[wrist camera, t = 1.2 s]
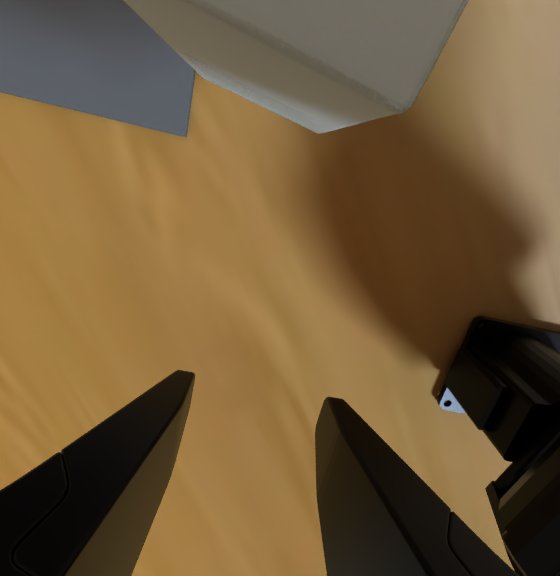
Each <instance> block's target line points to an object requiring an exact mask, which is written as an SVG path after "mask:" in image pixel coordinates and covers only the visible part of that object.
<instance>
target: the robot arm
mask: <svg viewBox="0 0 560 576" xmlns="http://www.w3.org/2000/svg"><path fill="white" fill-rule="evenodd" d="M482 323H484V325H483V326H482V327H480V328H479V326H480V325H481V324H482ZM194 381H195V374H194V373H193V372H188V371H182V370H177V371H175V372H174V373H172V374H171V375H169V376H168V377H166V378H165V379H164V380H162V381H161V382H159V383H158V384H156V385H155V386H153V387H152V388H150V389H149V390H148V391H146V392H145V393H143V394H142V395H140V396H139V397H137V398H136V399H135V400H133V401H132V402H130V403H129V404H127V405H126V406H124V407H123V408H122V409H120V410H119V411H117V412H116V413H114V414H113V415H111V416H110V417H109V418H107V419H106V420H104V421H103V422H101V423H100V424H98V425H97V426H96V427H94V428H93V429H91V430H90V431H88V432H87V433H85V434H84V435H83V436H81V437H80V438H78V439H77V440H75V441H74V442H72V443H71V444H70V445H68V446H67V447H65V448H64V449H62V450H61V453H60V452H58V453H56V454H55V455H53V456H52V457H50V458H49V459H48V460H46V461H45V462H43V463H42V464H40V465H39V466H37V467H36V468H34V469H33V470H31V471H30V472H28V473H27V474H25V475H24V476H22V477H20V478H19V479H17V480H16V481H14V482H13V483H11V484H10V485H8V486H6V487H5V488H3V489H1V490H0V576H131V575H132V572H133V570H134V567H135V565H136V562H137V560H138V558H139V555H140V553H141V550H142V548H143V545H144V543H145V540H146V538H147V535H148V533H149V530H150V528H151V525H152V523H153V520H154V518H155V515H156V513H157V510H158V508H159V505H160V503H161V500H162V498H163V495H164V493H165V490H166V488H167V485H168V483H169V480H170V477H171V474H172V471H173V468H174V464H175V461H176V457H177V453H178V450H179V446H180V442H181V438H182V435H183V431H184V427H185V424H186V420H187V416H188V412H189V408H190V403H191V398H192V392H193V387H194ZM447 400H448V402H446V403H444V402H445V401H447ZM437 402H438V404H439V406H440V407H441V408H442V409H444V410H448V411H454V412H459V413H464V414H467V415H468V416H469V418H470V419H471V420H472V422H473V423H474V424H475V426H476V427H477V428H478V429H479V430H482V431H483V432H484V433H485V435H486V436H487V437H488V439H489V440H490V441H491V443H492V444H493V445H494V447H495V448H496V449H497V451H498V452H499V453H500V454H501V456H502V457H503V458H504V460H506V461H510V462H512V463H511V464H510V466H509V467H508V468H507V469H506V470H505V471H504V472H503V473H502V474H501V475H500V476H499V477H498V479H497V480H496V481H492V482H491V483H490V484H489V485H488V486H487V487H486V488H485V489H486V492H487V495H488V498H489V501H490V504H491V507H492V510H493V513H494V516H495V519H496V522H497V525H498V528H499V531H500V534H501V537H502V540H503V543H504V545H505V548H506V551H507V554H508V557H509V559H510V562H511V564H512V566H513V568H514V570H515V571H514V570H513V569H511V568H510V567H509V566H508V565H507V564H506V563H505V562H504V561H503V560H502V559H501V558H500V557H499V556H498V555H496V554H495V553H494V552H493V551H492V550H491V549H490V548H489V547H488V546H487V545H486V544H485V543H484V542H483V541H482V540H481V539H480V538H479V537H478V536H477V535H476V534H475V533H474V532H473V531H472V530H471V529H470V528H469V527H468V526H467V525H466V524H465V523H464V522H463V521H462V520H461V519H460V518H459V517H458V516H457V515H456V514H455V513H454V512H451V510H450V508H449V507H448V506H447V505H446V504H445V503H444V502H443V501H442V500H441V499H440V498H439V497H438V496H437V494H436V493H435V492H434V491H433V490H432V489H431V488H430V487H429V486H428V485H427V484H426V483H425V482H424V481H423V480H422V479H421V478H420V477H419V476H418V475H417V474H416V473H415V472H414V471H413V470H412V469H411V468H410V467H409V466H408V465H407V464H406V463H405V462H404V461H403V460H402V459H401V458H400V457H399V456H398V455H397V454H396V453H395V452H394V451H393V450H392V449H391V448H390V446H389V445H388V444H387V443H386V442H385V441H384V440H383V439H382V438H381V437H380V436H379V435H378V434H377V433H376V432H375V431H374V430H373V429H372V428H371V427H370V426H369V425H368V424H367V423H366V422H365V421H364V420H363V419H362V418H361V417H360V416H359V415H358V414H357V413H356V412H355V411H354V410H353V409H352V408H351V407H350V406H349V405H348V404H347V403H346V402H345V401H344V400H343V399H339V398H333V397H327V398H326V399H325V400H324V403H323V406H322V409H321V412H320V415H319V418H318V421H317V424H316V430H315V449H316V490H317V503H318V512H319V519H320V526H321V534H322V541H323V549H324V556H325V564H326V571H327V576H560V332H555V331H550V330H545V329H541V328H536V327H531V326H527V325H522V324H517V323H512V322H508V321H503V320H498V319H494V318H489V317H484V316H479V317H477V318H475V319H474V320H473V322H472V323H471V326H470V328H469V330H468V332H467V334H466V337H465V339H464V341H463V343H462V345H461V348H460V349H459V350H458V352H457V355H456V357H455V359H454V361H453V363H452V366H451V368H450V370H449V372H448V374H447V377H446V379H445V381H444V385H443V387H442V390H441V392H440V394H439V396H438V399H437Z"/></svg>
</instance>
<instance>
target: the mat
mask: <svg viewBox="0 0 560 576" xmlns="http://www.w3.org/2000/svg"><path fill="white" fill-rule="evenodd" d="M194 78H195V70H194V69H193V68H192V67H191V66H190V65H189V64H188V63H187V62H186V61H185V60H184V59H183V58H182V57H181V56H180V55H179V54H178V53H177V52H176V51H175V50H174V49H173V48H171V47H170V46H169V45H168V44H167V43H166V42H165V41H164V40H163V39H162V38H161V37H160V36H159V35H158V34H157V33H156V32H155V31H154V30H153V29H152V28H151V27H150V26H149V25H148V24H147V23H146V22H145V21H144V20H143V19H142V18H141V17H140V16H139V15H138V14H137V13H136V12H135V11H134V10H133V9H132V8H131V7H129V6H128V5H127V4H126V3H125V2H124V1H123V0H0V92H3V93H7V94H11V95H15V96H19V97H23V98H27V99H31V100H35V101H40V102H44V103H48V104H52V105H56V106H60V107H64V108H68V109H72V110H76V111H81V112H85V113H89V114H93V115H97V116H101V117H105V118H109V119H113V120H117V121H121V122H126V123H130V124H134V125H138V126H142V127H146V128H150V129H154V130H158V131H162V132H166V133H171V134H175V135H179V136H183V137H187V130H188V123H189V115H190V108H191V100H192V93H193V85H194Z"/></svg>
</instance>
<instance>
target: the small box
mask: <svg viewBox="0 0 560 576" xmlns="http://www.w3.org/2000/svg"><path fill="white" fill-rule="evenodd" d="M123 1H124V2H125V3H126V4H127V5H128V6H129V7H131V8H132V9H133V10H134V11H135V12H136V13H137V14H138V15H139V16H140V17H141V18H142V19H143V20H144V21H145V22H146V23H147V24H148V25H149V26H150V27H151V28H152V29H153V30H154V31H155V32H156V33H157V34H158V35H159V36H160V37H161V38H162V39H163V40H164V41H165V42H166V43H167V44H168V45H169V46H170V47H171V48H173V49H174V50H175V51H176V52H177V53H178V54H179V55H180V56H181V57H182V58H183V59H184V60H185V61H186V62H187V63H188V64H189V65H190V66H191V67H192V68H193V69H194V70H195V71H196V72H197V73H198V74H199V75H200V76H201V77H203V78H204V79H206V80H208V81H210V82H212V83H214V84H216V85H218V86H220V87H222V88H224V89H227V90H229V91H231V92H233V93H235V94H237V95H239V96H241V97H243V98H245V99H247V100H249V101H251V102H253V103H256V104H258V105H260V106H262V107H264V108H266V109H268V110H270V111H272V112H274V113H276V114H278V115H280V116H282V117H284V118H286V119H288V120H291V121H293V122H295V123H297V124H299V125H301V126H303V127H305V128H307V129H309V130H311V131H313V132H315V133H318V134H321V133H326V132H330V131H334V130H337V129H340V128H344V127H348V126H353V125H356V124H360V123H363V122H367V121H371V120H374V119H379V118H383V117H386V116H391V115H397V114H402V113H404V112H405V111H407V110H408V109H409V108H410V107H411V106H412V104H413V103H414V101H415V100H416V99H417V97H418V95H419V93H420V91H421V89H422V87H423V85H424V83H425V81H426V80H427V78H428V76H429V74H430V72H431V70H432V69H433V67H434V65H435V63H436V61H437V59H438V57H439V55H440V54H441V52H442V50H443V48H444V46H445V44H446V42H447V40H448V38H449V36H450V34H451V33H452V31H453V29H454V27H455V25H456V23H457V21H458V19H459V17H460V16H461V14H462V12H463V10H464V8H465V6H466V4H467V2H468V0H123Z"/></svg>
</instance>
